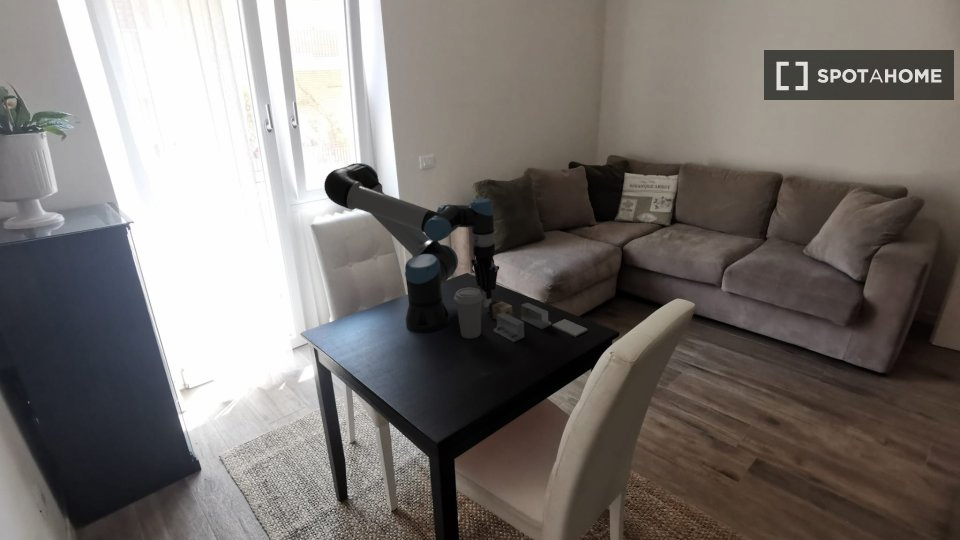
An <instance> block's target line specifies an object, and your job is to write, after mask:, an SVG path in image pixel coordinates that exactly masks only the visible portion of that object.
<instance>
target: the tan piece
mask: <svg viewBox="0 0 960 540" xmlns="http://www.w3.org/2000/svg"><path fill="white" fill-rule="evenodd" d="M503 312H504V313H506V314H508V315H510V316H512V317H514V318H515V313H514V312H513V305H511V304H509V303H506V302H505V301H503V300H501V299H497V300H495V301H493V302H492V301H491V303H489V318H491V319H494V320H496V321H497V316H496V315H498V314H500V313H503Z"/></svg>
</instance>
